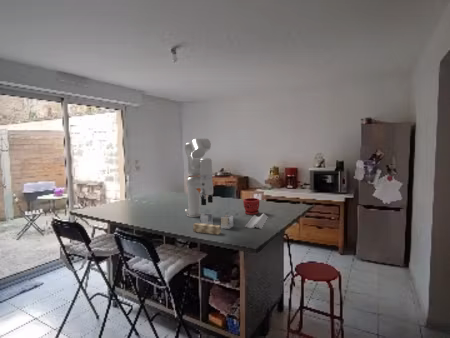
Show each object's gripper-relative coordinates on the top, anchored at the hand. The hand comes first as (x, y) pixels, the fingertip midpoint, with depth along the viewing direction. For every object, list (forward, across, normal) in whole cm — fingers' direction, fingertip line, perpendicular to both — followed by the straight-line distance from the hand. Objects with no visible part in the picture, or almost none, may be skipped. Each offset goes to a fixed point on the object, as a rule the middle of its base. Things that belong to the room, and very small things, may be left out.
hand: (207, 203), depth 181 cm
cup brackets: (+18, +14, 0) cm, 23 cm away
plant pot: (+18, +58, -12) cm, 62 cm away
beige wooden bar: (+19, -1, 0) cm, 19 cm away
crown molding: (+19, +33, -24) cm, 45 cm away
